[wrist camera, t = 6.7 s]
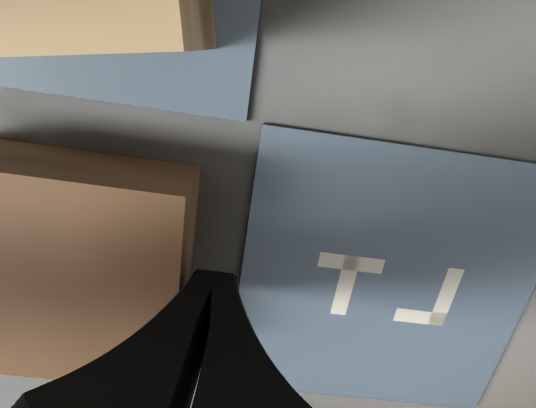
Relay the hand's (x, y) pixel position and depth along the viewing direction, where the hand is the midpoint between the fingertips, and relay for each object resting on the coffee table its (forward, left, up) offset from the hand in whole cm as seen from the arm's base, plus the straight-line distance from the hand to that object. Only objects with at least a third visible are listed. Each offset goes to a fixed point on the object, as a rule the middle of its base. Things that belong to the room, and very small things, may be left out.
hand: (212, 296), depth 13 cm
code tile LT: (0, -6, -2) cm, 7 cm away
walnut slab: (0, +5, -2) cm, 5 cm away
